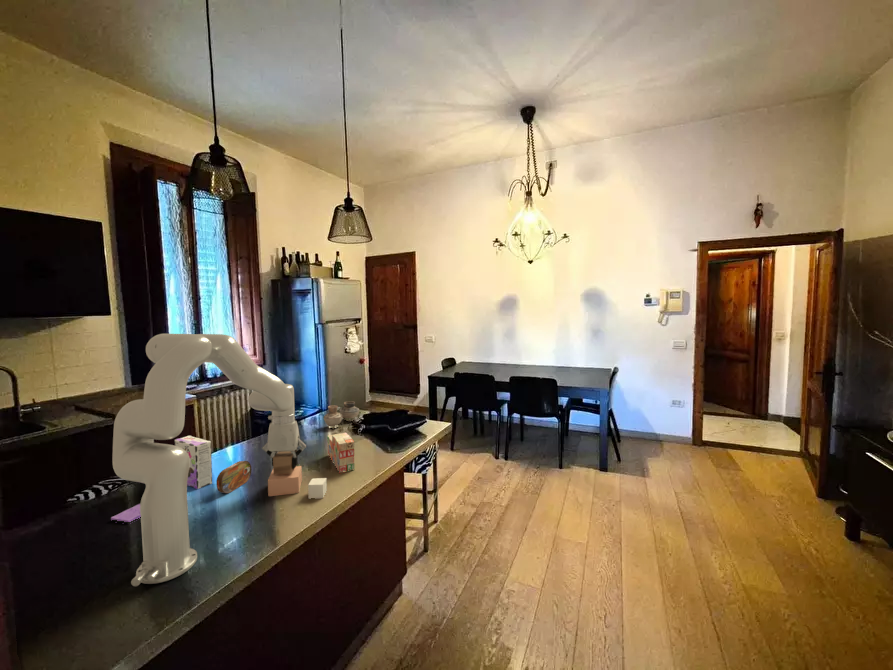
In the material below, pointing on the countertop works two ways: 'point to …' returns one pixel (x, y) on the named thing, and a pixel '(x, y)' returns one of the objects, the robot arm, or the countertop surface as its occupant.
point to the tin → (233, 477)
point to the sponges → (128, 514)
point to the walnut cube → (282, 463)
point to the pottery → (345, 412)
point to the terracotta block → (285, 482)
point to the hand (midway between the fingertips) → (285, 466)
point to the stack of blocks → (341, 451)
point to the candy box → (197, 460)
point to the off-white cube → (317, 488)
